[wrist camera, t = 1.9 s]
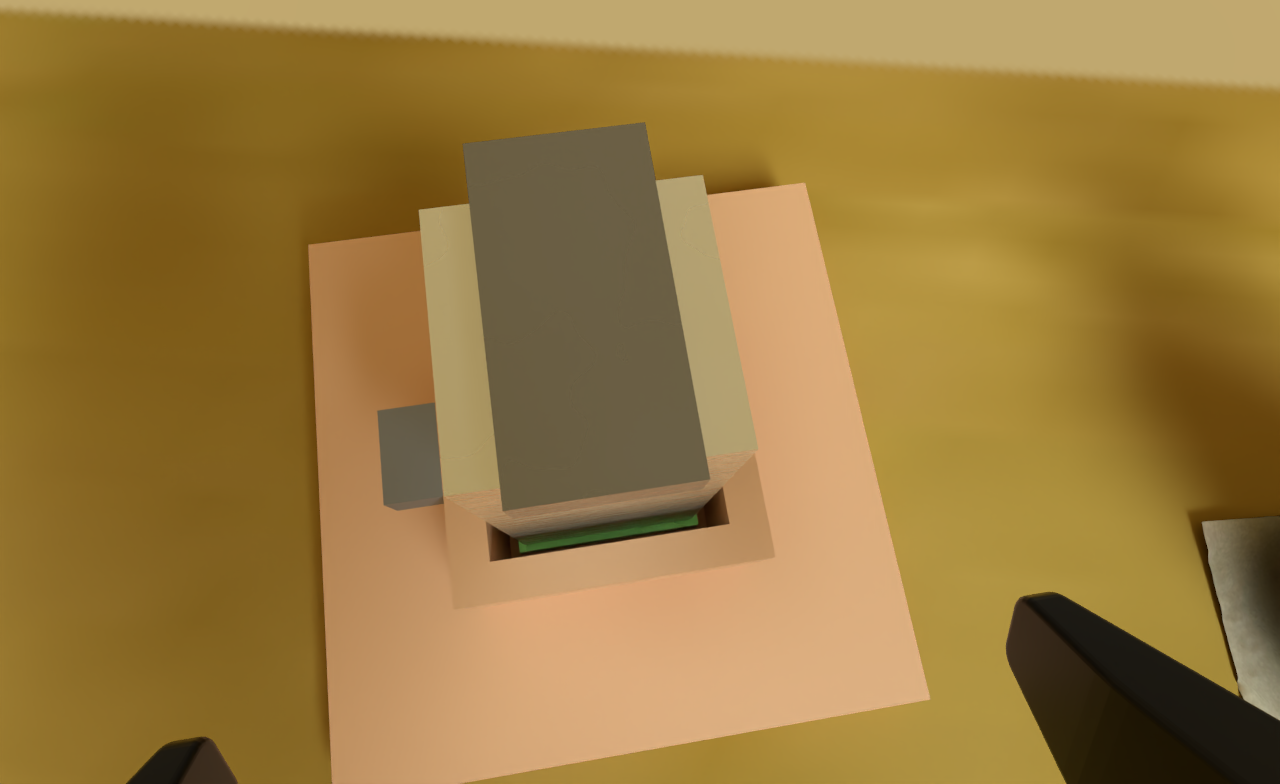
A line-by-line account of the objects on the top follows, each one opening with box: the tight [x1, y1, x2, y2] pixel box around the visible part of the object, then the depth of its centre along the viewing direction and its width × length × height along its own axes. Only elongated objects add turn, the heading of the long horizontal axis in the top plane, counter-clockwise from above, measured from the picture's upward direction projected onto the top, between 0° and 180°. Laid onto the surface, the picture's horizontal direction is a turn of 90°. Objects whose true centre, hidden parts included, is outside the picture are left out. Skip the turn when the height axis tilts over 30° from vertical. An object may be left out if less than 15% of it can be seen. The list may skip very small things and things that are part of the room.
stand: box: [308, 183, 930, 784], centre depth 18 cm, size 14×14×5 cm
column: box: [419, 123, 758, 554], centre depth 14 cm, size 5×4×10 cm
